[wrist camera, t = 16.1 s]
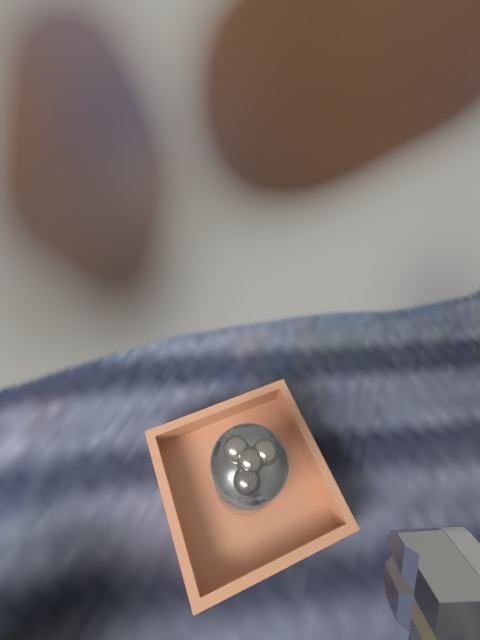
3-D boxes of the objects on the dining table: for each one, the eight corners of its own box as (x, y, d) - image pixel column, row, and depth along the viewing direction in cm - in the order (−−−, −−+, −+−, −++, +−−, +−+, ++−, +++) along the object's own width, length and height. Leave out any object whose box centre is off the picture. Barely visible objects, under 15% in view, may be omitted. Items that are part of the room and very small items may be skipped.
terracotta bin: (346, 531, 33) (360, 529, 30) (196, 608, 30) (193, 615, 27) (278, 393, 40) (283, 378, 37) (151, 442, 37) (144, 431, 34)
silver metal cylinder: (284, 501, 34) (306, 483, 24) (226, 528, 32) (227, 519, 23) (259, 442, 36) (270, 406, 27) (205, 465, 35) (198, 434, 26)
